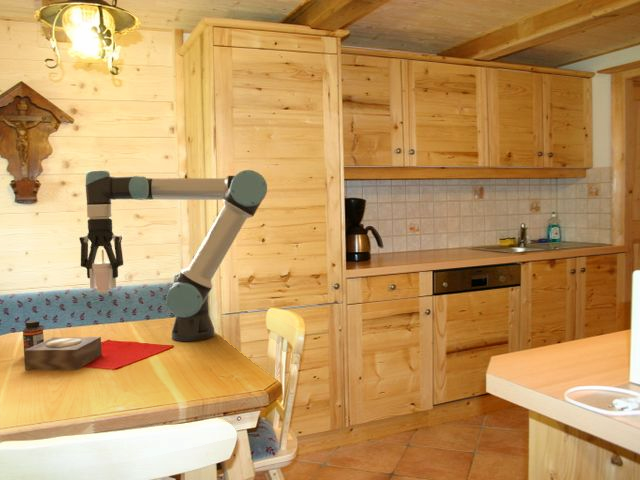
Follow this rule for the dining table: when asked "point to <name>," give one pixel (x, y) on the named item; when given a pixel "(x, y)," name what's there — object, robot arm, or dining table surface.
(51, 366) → the stand
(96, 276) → the white drink cup
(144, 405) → the dining table surface
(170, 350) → the dining table surface
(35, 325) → the supplement bottle
